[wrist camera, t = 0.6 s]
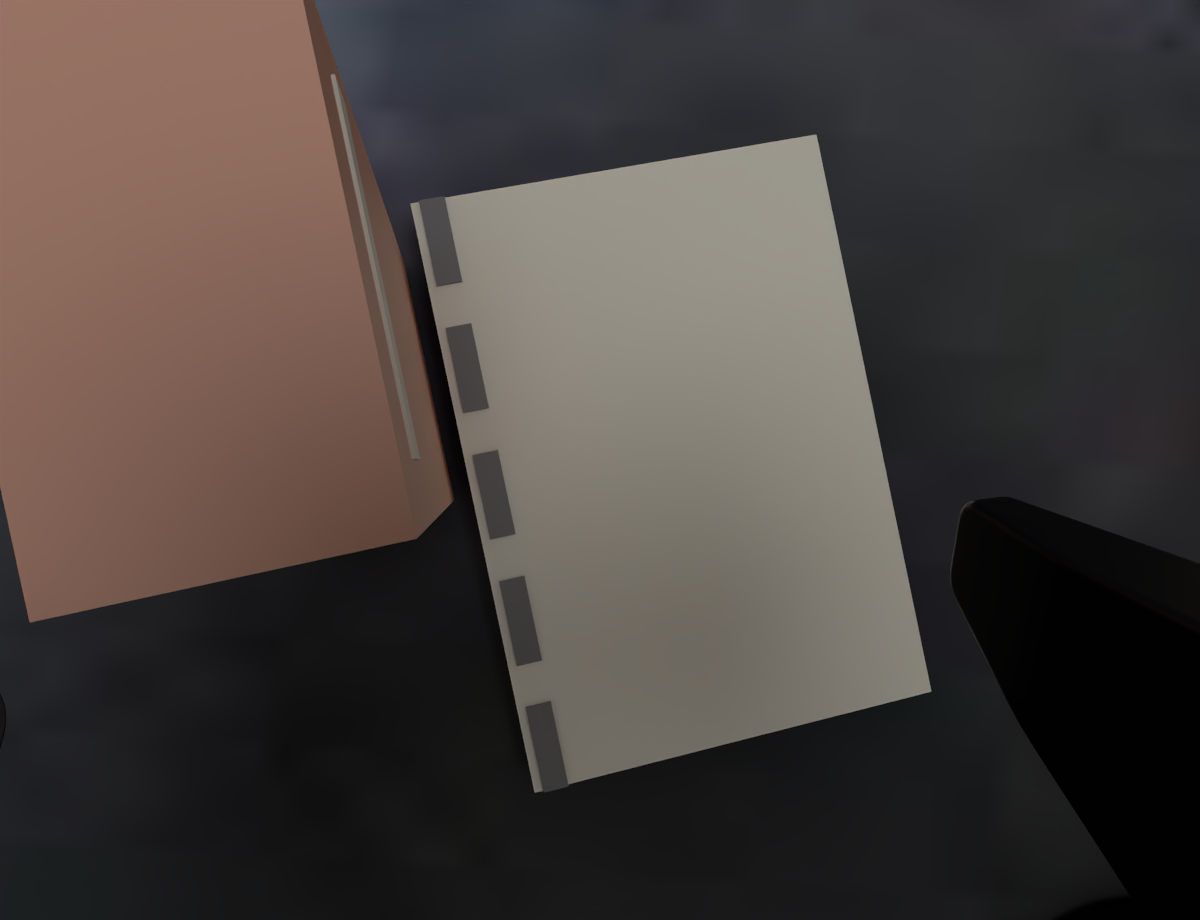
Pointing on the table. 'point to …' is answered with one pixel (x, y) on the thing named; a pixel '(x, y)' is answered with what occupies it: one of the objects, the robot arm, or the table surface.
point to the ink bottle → (1114, 913)
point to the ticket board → (671, 455)
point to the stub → (196, 305)
